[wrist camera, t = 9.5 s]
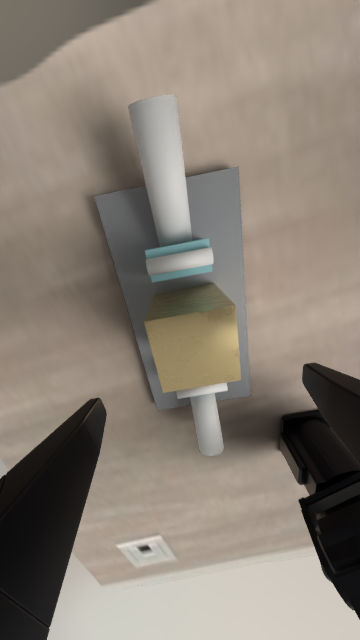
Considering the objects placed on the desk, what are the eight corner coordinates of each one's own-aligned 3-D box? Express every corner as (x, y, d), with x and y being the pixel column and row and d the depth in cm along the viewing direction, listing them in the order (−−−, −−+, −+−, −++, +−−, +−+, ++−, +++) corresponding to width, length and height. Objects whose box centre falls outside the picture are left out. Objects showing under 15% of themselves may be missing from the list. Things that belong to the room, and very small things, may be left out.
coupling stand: (231, 117, 13) (264, 44, 8) (248, 409, 23) (268, 454, 18) (84, 148, 13) (34, 97, 9) (163, 422, 23) (161, 469, 18)
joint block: (214, 282, 16) (235, 305, 10) (220, 336, 18) (241, 380, 12) (154, 293, 16) (144, 321, 11) (166, 346, 18) (163, 392, 12)
